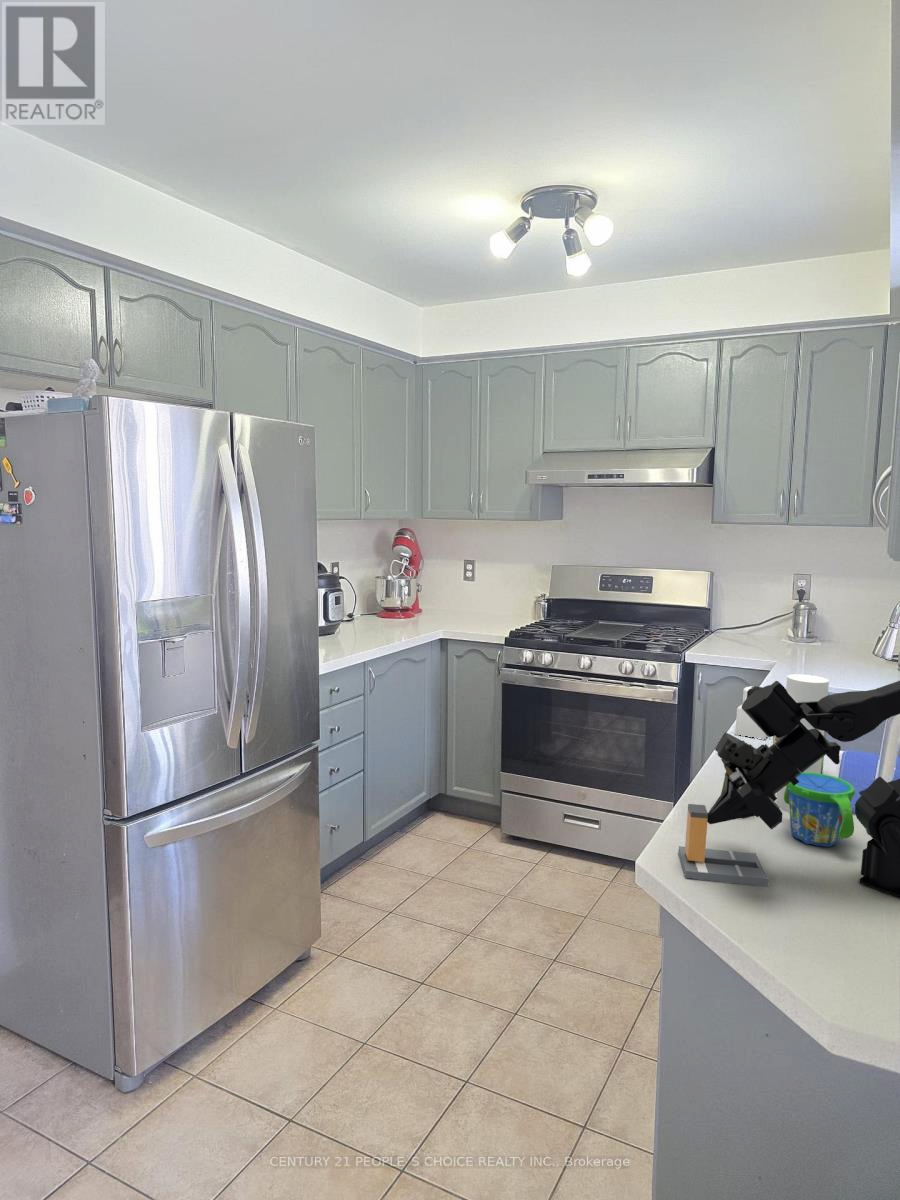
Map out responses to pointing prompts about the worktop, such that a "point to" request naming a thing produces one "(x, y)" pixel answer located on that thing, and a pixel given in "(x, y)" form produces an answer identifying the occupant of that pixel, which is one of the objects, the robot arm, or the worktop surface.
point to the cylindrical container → (803, 691)
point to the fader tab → (696, 832)
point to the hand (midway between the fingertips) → (707, 821)
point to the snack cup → (820, 808)
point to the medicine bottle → (747, 718)
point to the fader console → (725, 867)
